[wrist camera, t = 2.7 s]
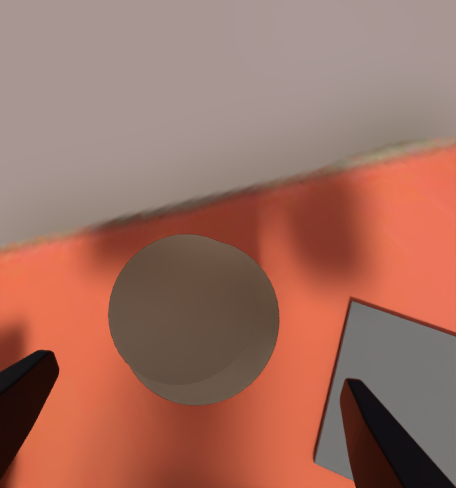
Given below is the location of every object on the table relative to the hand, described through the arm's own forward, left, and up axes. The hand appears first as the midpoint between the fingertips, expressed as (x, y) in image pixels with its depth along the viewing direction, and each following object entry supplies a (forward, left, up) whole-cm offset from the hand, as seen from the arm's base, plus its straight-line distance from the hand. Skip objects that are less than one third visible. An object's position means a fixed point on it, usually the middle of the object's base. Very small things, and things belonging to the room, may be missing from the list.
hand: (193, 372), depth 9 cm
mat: (+2, -11, -9) cm, 14 cm away
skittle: (+2, +1, -9) cm, 9 cm away
